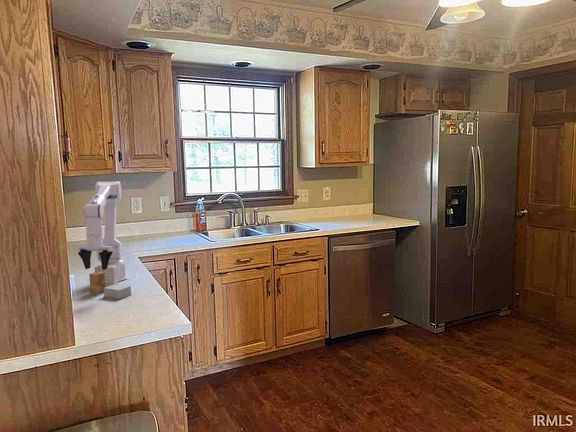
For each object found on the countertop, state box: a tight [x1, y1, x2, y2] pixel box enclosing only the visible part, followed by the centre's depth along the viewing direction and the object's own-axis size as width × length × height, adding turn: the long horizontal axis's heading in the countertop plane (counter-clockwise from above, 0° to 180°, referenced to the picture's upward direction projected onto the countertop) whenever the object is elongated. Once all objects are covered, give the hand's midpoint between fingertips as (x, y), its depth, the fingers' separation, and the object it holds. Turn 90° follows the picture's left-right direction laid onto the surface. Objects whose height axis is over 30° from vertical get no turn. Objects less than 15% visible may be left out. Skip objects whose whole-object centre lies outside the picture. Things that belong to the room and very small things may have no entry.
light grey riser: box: [103, 283, 132, 300], centre depth 171 cm, size 6×8×4 cm
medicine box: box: [94, 264, 119, 287], centre depth 184 cm, size 8×4×9 cm, turn 91°
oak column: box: [89, 271, 105, 295], centre depth 175 cm, size 4×4×8 cm
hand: (96, 269), depth 170 cm, fingers open, 7 cm apart
